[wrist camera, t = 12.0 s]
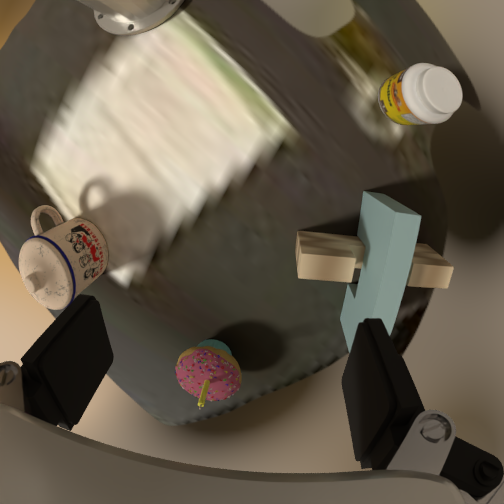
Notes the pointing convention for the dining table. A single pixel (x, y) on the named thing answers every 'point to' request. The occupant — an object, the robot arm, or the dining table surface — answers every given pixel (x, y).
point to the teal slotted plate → (380, 262)
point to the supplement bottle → (420, 95)
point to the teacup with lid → (61, 259)
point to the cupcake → (209, 371)
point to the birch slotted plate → (351, 256)
